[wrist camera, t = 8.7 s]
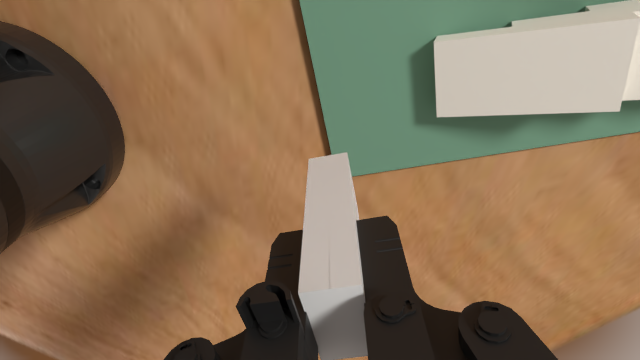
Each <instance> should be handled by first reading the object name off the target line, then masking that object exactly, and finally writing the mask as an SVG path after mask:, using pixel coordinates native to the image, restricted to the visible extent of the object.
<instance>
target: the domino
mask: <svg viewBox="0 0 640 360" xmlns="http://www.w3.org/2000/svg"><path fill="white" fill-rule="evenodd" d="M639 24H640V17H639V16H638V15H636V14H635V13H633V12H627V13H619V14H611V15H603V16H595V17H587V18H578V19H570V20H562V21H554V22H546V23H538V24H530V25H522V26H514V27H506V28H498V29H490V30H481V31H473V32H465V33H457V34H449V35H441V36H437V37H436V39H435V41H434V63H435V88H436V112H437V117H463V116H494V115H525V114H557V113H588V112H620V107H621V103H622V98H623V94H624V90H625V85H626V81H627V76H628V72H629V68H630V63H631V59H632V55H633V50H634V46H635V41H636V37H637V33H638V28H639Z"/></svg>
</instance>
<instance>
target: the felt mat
mask: <svg viewBox="0 0 640 360" xmlns="http://www.w3.org/2000/svg"><path fill="white" fill-rule="evenodd" d="M299 1H300V6H301V10H302V15H303V20H304V25H305V30H306V34H307V39H308V44H309V49H310V54H311V58H312V63H313V68H314V73H315V78H316V82H317V87H318V92H319V97H320V102H321V106H322V111H323V116H324V121H325V126H326V130H327V135H328V140H329V145H330V150H331V154H332V155H334V154H340V153H345V152H347V154H348V160H349V165H350V170H351V176H358V175H365V174H371V173H377V172H384V171H390V170H397V169H403V168H409V167H416V166H422V165H429V164H435V163H442V162H448V161H454V160H461V159H467V158H474V157H480V156H486V155H493V154H499V153H506V152H512V151H519V150H525V149H531V148H538V147H544V146H551V145H557V144H563V143H570V142H576V141H583V140H589V139H596V138H602V137H608V136H615V135H621V134H628V133H634V132H640V100H625V101H622V103H621V107H620V112H588V113H557V114H525V115H494V116H463V117H437V112H436V88H435V63H434V41H435V39H436V37H437V36H441V35H449V34H457V33H465V32H473V31H481V30H490V29H498V28H506V27H511V24H512V21H517V20H525V19H532V18H540V17H548V16H555V15H563V14H571V13H579V12H585V7H586V6H591V5H598V4H605V3H613V2H620V1H628V0H299Z"/></svg>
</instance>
